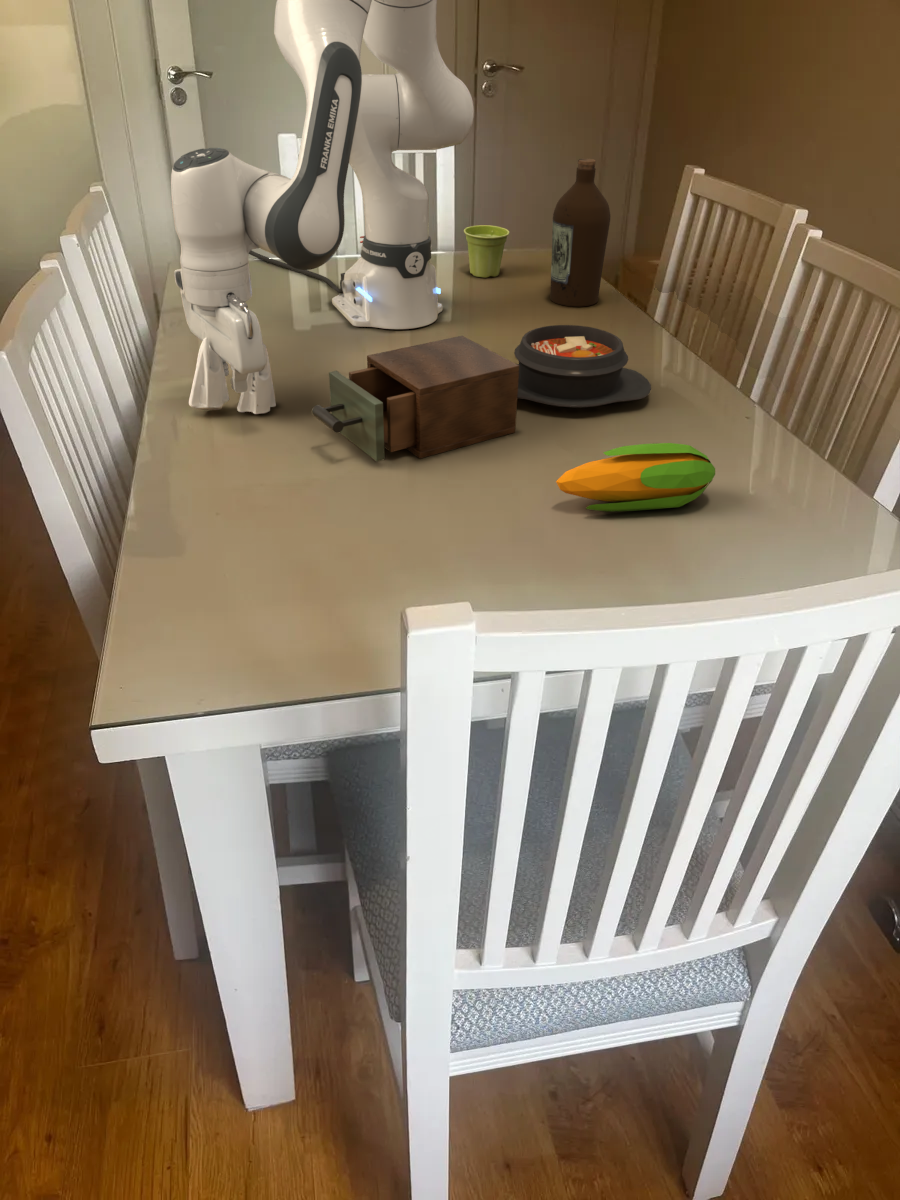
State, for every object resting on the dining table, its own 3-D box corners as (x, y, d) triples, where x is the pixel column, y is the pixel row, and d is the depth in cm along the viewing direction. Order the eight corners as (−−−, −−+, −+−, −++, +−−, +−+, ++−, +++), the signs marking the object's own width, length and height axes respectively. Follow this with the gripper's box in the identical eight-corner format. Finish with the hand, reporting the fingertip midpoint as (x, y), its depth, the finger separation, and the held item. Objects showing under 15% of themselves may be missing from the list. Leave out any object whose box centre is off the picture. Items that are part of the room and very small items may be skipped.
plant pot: (512, 270, 194) (514, 227, 189) (499, 282, 187) (502, 238, 182) (470, 265, 197) (471, 223, 192) (456, 277, 189) (457, 233, 184)
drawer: (346, 469, 116) (343, 412, 112) (303, 433, 125) (298, 378, 120) (469, 436, 125) (471, 381, 120) (421, 404, 134) (421, 352, 129)
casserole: (486, 417, 133) (488, 361, 128) (485, 369, 148) (487, 318, 143) (658, 421, 132) (667, 365, 127) (640, 373, 147) (647, 321, 143)
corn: (732, 453, 107) (569, 465, 103) (722, 512, 111) (564, 525, 107) (705, 430, 113) (550, 441, 110) (696, 487, 117) (546, 499, 114)
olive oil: (583, 289, 184) (596, 153, 170) (611, 304, 176) (628, 163, 162) (537, 295, 181) (546, 156, 166) (563, 311, 173) (576, 167, 158)
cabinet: (419, 458, 121) (419, 389, 116) (369, 421, 131) (366, 355, 125) (515, 432, 129) (519, 365, 123) (460, 399, 138) (462, 335, 132)
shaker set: (190, 418, 130) (178, 343, 124) (193, 407, 134) (181, 332, 127) (275, 415, 132) (267, 340, 125) (276, 403, 135) (268, 330, 129)
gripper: (271, 301, 117) (281, 403, 125) (212, 262, 130) (224, 356, 138) (225, 309, 114) (238, 413, 122) (169, 269, 127) (184, 364, 136)
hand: (230, 382), depth 130 cm, fingers closed on shaker set, 5 cm apart
